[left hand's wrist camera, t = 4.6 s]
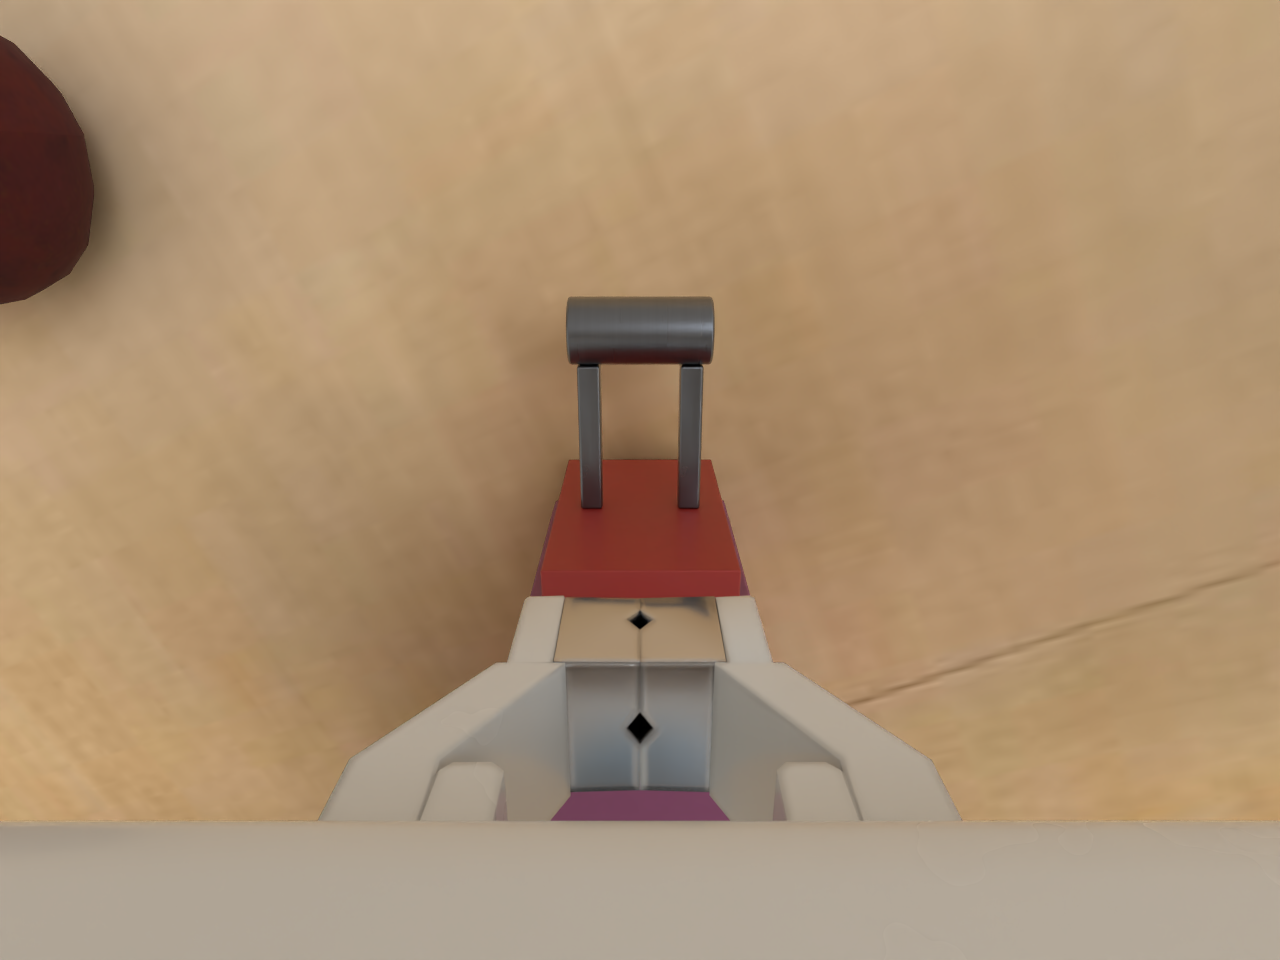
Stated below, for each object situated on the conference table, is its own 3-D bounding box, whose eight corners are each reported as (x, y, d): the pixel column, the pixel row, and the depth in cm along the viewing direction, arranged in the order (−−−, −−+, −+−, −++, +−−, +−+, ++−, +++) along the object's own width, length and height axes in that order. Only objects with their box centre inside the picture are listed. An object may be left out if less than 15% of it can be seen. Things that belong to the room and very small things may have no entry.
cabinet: (555, 499, 27) (513, 659, 18) (724, 499, 27) (768, 658, 18) (573, 929, 34) (550, 1201, 25) (706, 929, 34) (731, 1200, 25)
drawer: (562, 280, 23) (527, 322, 16) (717, 279, 23) (753, 321, 16) (584, 898, 32) (568, 1110, 25) (696, 898, 32) (713, 1110, 25)
